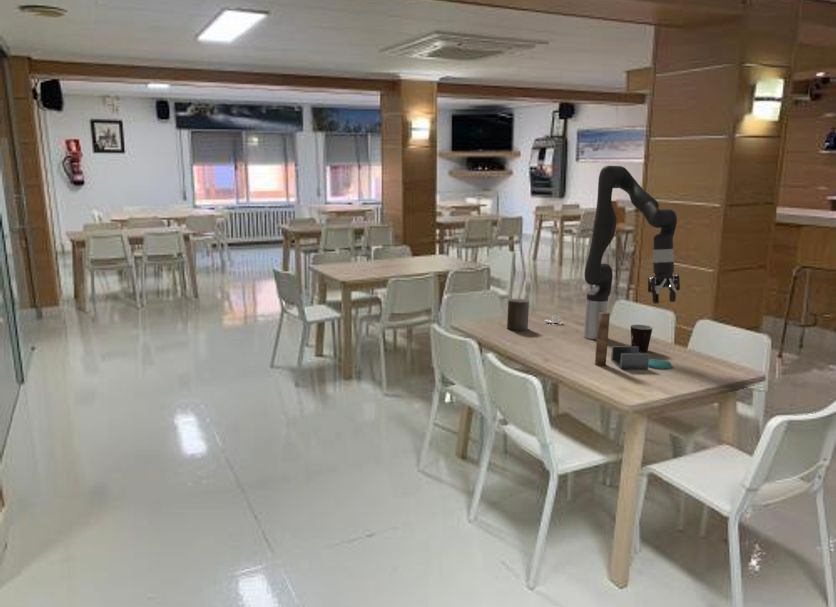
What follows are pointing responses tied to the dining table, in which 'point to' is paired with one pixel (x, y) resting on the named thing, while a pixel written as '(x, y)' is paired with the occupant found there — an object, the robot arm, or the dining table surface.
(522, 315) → the pillar candle
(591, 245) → the robot arm
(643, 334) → the coffee mug
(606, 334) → the walnut dowel
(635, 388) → the dining table surface
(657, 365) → the teal mat
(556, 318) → the teacup and saucer
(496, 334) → the dining table surface
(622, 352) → the metal channel
